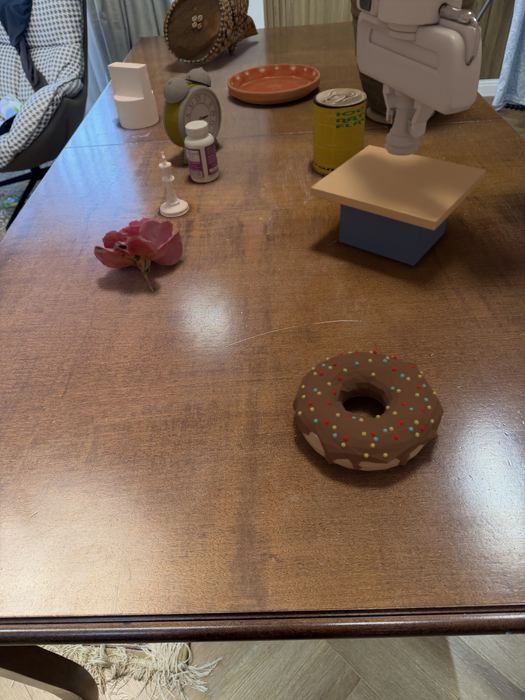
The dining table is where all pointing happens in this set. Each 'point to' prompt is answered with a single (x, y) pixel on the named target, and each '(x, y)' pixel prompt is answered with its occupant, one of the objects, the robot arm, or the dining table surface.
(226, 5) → the basket
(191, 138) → the pill bottle
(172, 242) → the flower
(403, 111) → the rook chess piece
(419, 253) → the board box
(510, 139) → the dining table surface
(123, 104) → the cylinder with rectangular tab
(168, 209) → the chess piece
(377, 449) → the donut
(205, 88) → the alarm clock
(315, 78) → the saucer
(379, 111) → the vase
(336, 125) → the beverage can
